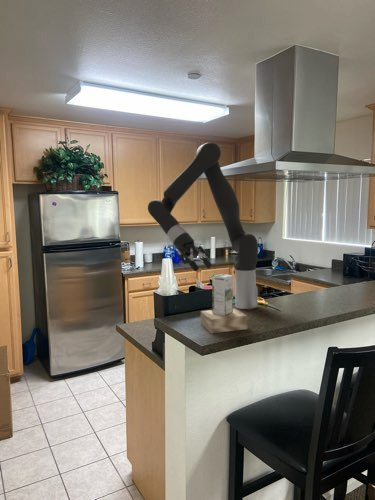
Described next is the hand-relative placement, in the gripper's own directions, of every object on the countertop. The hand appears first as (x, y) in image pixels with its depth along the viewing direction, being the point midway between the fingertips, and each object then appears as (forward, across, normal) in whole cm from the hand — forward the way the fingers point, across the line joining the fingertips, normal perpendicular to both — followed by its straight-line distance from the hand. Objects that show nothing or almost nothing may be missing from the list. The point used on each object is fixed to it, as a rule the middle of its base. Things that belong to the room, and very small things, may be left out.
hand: (204, 268), depth 140 cm
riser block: (+21, 0, +9) cm, 23 cm away
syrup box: (+18, 0, +6) cm, 18 cm away
